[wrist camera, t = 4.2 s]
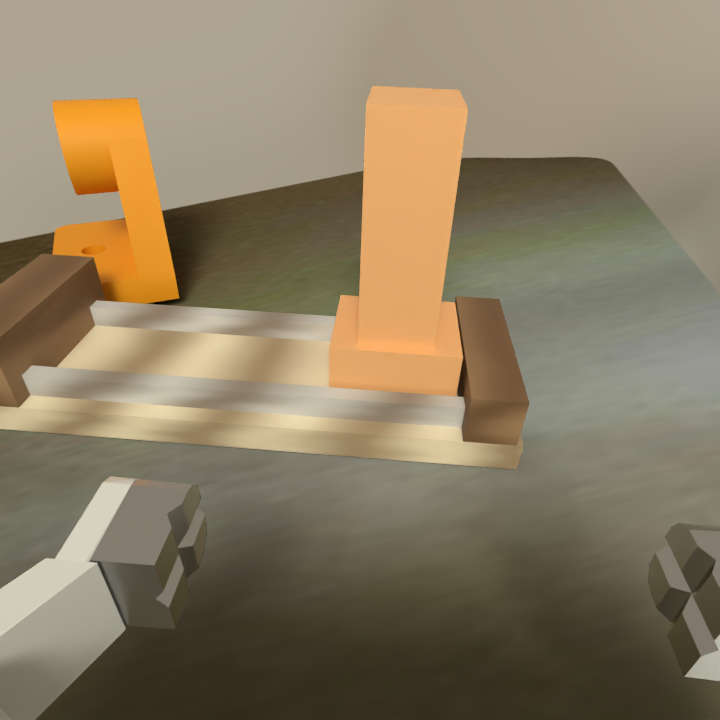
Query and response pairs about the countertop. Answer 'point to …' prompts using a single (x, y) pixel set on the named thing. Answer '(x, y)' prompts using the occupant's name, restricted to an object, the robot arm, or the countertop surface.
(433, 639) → the countertop surface
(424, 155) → the slider
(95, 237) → the bracket
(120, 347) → the rail board
